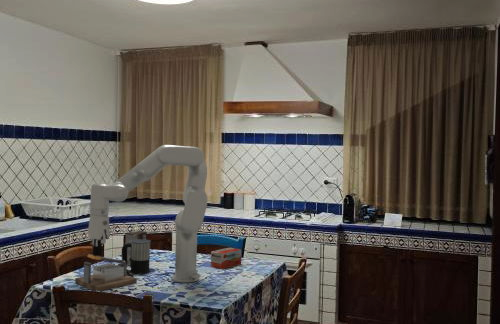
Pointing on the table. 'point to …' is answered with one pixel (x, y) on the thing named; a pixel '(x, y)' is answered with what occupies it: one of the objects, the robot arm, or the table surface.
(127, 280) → the base board
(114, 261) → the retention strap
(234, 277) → the table surface
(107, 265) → the heat sink
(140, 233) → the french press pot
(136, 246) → the milk frother
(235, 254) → the medicine box
